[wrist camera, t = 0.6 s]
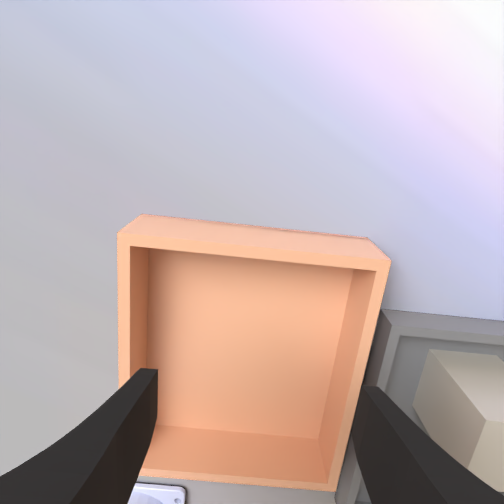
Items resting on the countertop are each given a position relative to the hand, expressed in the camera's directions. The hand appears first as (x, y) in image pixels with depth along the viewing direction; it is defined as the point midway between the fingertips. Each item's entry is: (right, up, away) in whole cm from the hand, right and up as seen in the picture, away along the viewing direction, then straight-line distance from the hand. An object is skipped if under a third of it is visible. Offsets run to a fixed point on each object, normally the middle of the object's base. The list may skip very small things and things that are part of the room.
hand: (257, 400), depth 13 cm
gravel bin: (-1, 0, +11) cm, 11 cm away
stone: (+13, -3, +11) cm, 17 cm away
